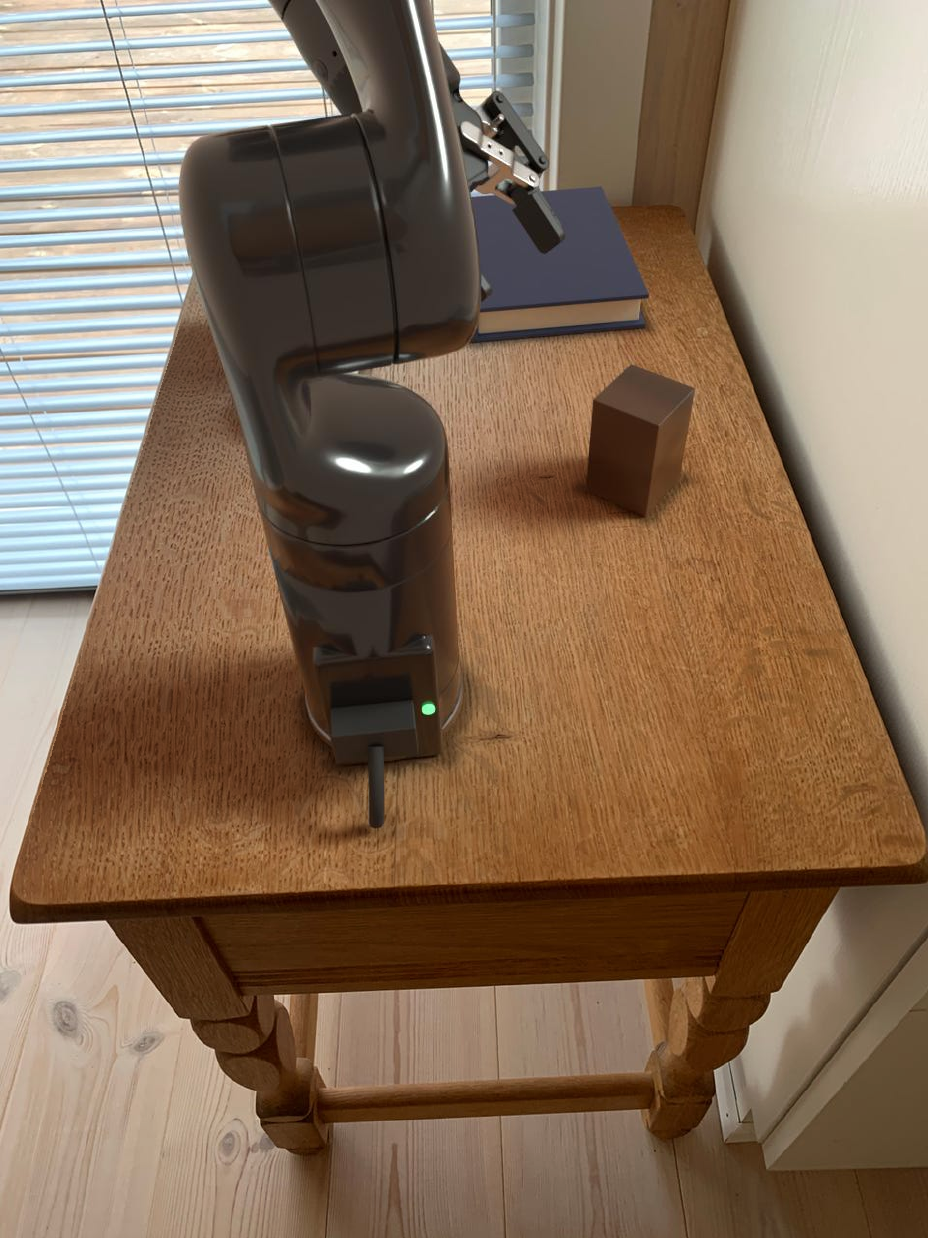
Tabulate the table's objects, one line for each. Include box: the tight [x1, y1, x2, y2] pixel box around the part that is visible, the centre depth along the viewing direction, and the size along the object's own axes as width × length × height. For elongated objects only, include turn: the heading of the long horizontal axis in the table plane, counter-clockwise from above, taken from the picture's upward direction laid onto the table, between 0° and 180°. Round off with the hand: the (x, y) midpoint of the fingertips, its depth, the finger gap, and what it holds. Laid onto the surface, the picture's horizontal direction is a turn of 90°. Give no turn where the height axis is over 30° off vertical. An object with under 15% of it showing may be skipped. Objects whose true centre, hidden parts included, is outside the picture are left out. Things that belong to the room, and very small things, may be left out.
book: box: [470, 186, 650, 344], centre depth 90 cm, size 20×15×3 cm
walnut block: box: [585, 364, 696, 518], centre depth 69 cm, size 5×5×8 cm
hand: (519, 273), depth 66 cm, fingers open, 8 cm apart
